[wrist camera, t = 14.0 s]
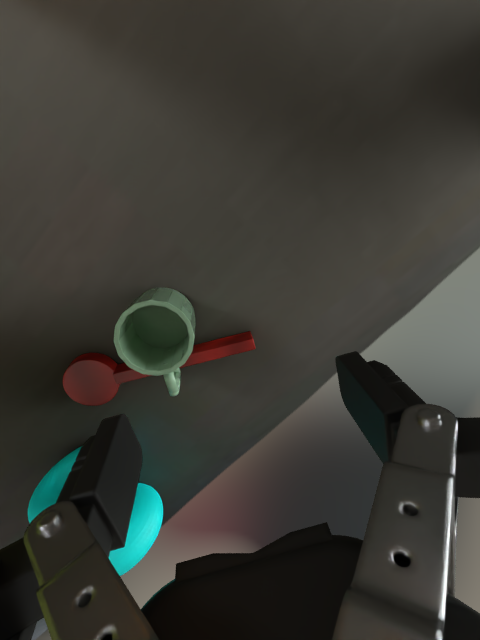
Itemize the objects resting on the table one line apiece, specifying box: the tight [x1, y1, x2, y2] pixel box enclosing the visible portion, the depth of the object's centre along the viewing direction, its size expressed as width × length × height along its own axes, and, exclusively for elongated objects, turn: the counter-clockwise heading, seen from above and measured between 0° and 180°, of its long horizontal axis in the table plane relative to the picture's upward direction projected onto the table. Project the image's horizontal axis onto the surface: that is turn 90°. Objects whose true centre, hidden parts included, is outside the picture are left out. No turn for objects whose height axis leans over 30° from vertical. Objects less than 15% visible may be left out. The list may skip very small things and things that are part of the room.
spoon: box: [63, 331, 255, 406], centre depth 35 cm, size 19×5×2 cm, turn 102°
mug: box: [114, 287, 196, 396], centre depth 31 cm, size 9×6×6 cm
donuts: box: [28, 446, 163, 576], centre depth 35 cm, size 10×10×10 cm
